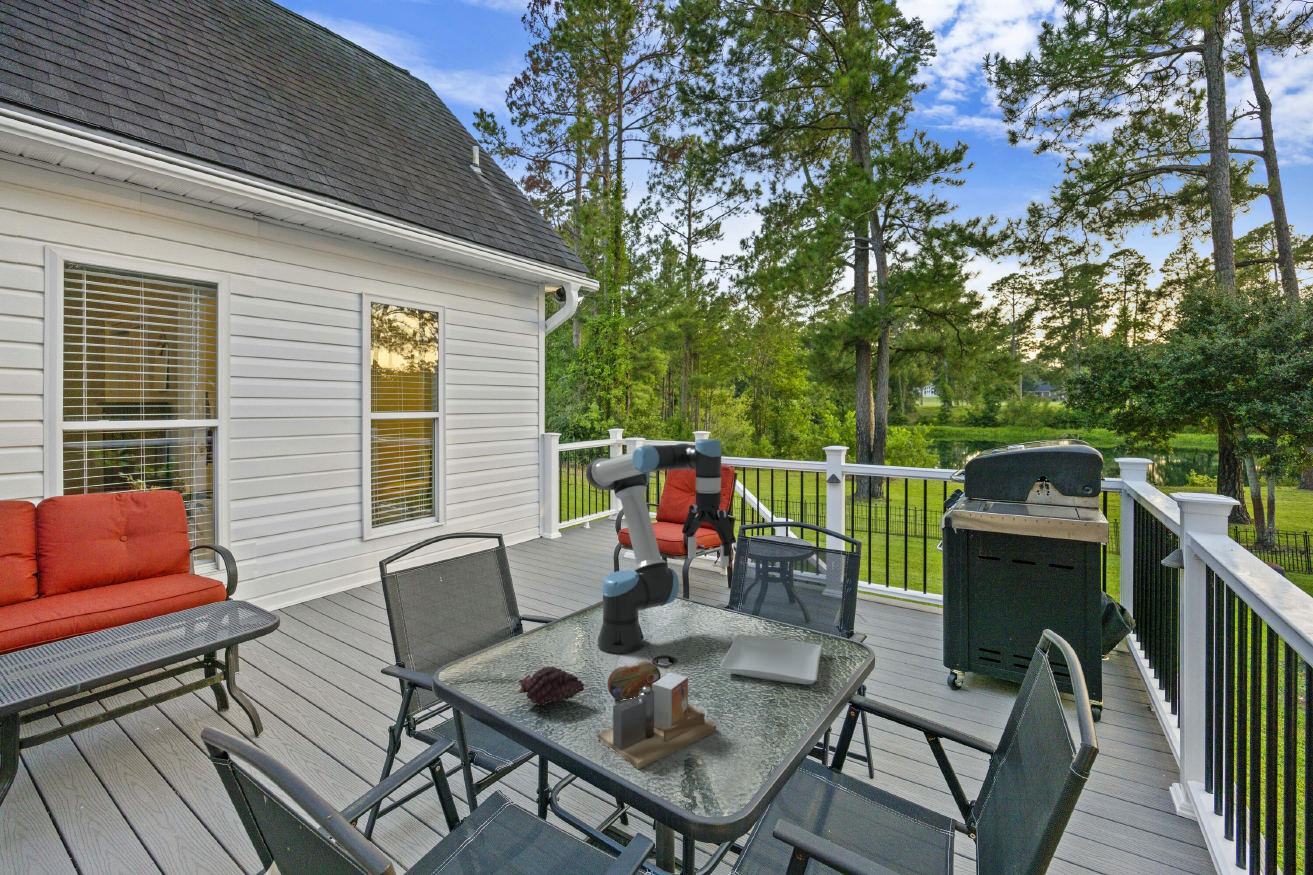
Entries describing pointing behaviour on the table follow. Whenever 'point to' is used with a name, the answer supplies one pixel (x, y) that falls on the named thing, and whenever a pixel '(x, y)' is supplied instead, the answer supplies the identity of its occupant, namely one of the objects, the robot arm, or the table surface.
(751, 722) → the table surface
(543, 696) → the pine cone
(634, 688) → the tin
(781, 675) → the square plate
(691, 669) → the table surface
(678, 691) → the small box
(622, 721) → the hinge leaf
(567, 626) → the table surface
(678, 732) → the tan wooden flat tray
